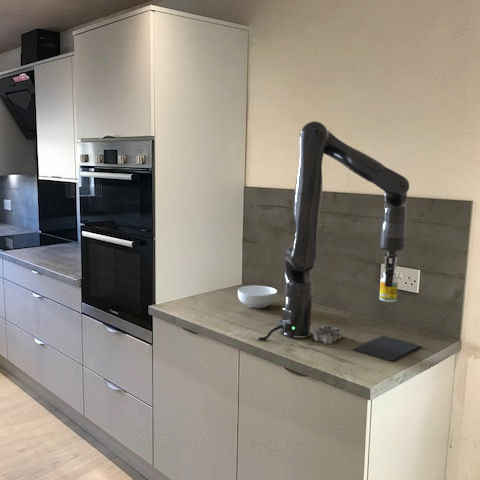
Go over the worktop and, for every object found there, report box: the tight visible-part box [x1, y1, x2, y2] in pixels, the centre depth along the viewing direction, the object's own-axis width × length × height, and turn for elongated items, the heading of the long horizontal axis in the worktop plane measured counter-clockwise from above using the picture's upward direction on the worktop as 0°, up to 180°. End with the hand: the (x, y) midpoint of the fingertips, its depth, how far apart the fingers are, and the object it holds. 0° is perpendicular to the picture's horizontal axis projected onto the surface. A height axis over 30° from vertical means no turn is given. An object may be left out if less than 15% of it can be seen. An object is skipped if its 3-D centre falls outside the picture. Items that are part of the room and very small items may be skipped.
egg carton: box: [311, 323, 344, 345], centre depth 186 cm, size 11×8×4 cm
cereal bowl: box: [237, 285, 278, 309], centre depth 226 cm, size 17×17×7 cm
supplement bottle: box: [378, 271, 399, 303], centre depth 178 cm, size 5×5×10 cm
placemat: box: [353, 335, 421, 363], centre depth 177 cm, size 20×13×1 cm, turn 131°
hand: (388, 284), depth 178 cm, fingers closed on supplement bottle, 5 cm apart
